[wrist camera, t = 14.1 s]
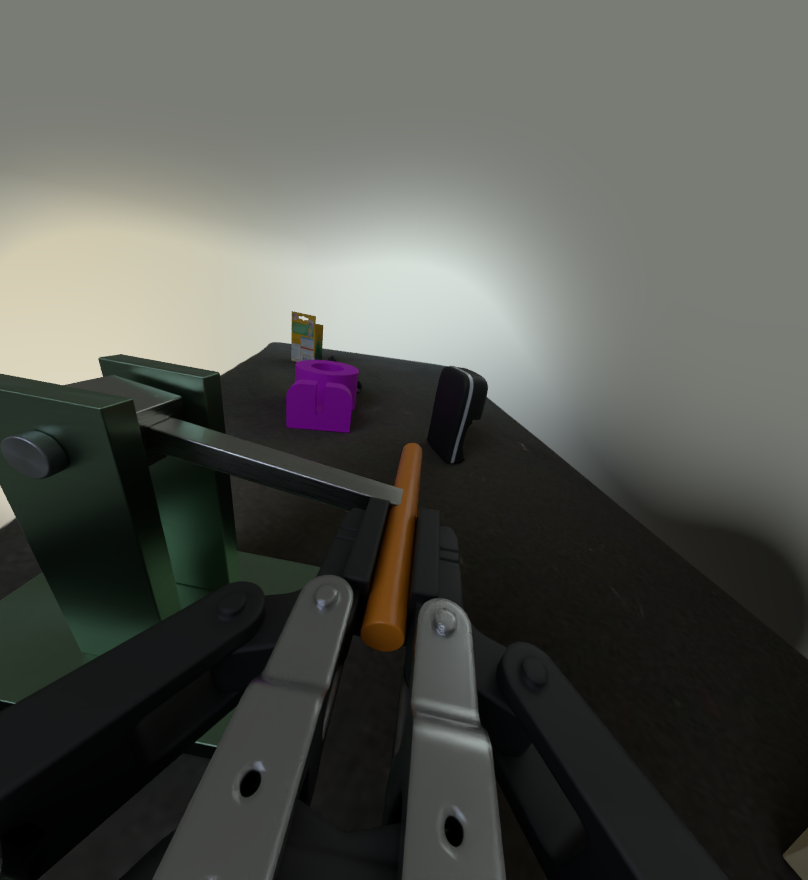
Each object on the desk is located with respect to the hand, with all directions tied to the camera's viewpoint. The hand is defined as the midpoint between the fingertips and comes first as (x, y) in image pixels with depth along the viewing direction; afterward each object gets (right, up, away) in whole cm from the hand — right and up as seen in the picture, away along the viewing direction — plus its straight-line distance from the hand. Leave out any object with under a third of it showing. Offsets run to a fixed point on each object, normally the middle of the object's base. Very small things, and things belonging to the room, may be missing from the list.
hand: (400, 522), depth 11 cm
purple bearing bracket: (-13, +8, +37) cm, 40 cm away
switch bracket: (-12, -7, +5) cm, 15 cm away
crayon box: (-24, +22, +64) cm, 71 cm away
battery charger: (+6, +1, +30) cm, 31 cm away
